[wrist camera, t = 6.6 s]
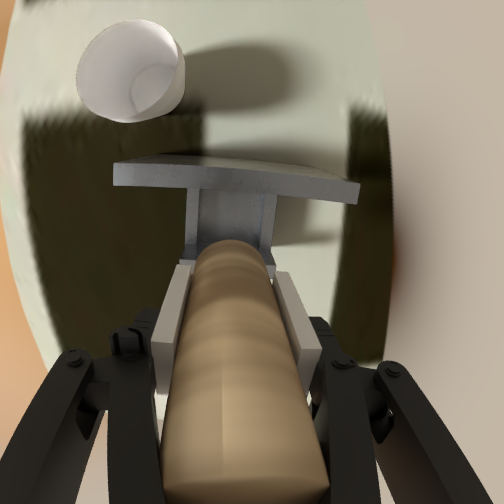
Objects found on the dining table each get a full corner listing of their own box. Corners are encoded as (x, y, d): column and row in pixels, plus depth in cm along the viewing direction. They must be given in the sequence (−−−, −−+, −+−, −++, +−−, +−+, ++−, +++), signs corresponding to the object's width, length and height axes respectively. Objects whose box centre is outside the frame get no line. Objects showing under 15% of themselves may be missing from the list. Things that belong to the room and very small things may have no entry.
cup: (211, 91, 30) (204, 66, 19) (150, 142, 32) (114, 144, 21) (164, 40, 27) (138, -1, 16) (106, 90, 29) (57, 73, 18)
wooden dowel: (195, 237, 17) (137, 467, 4) (270, 242, 18) (359, 463, 5) (193, 303, 19) (164, 525, 6) (261, 307, 19) (308, 524, 6)
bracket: (156, 154, 32) (113, 163, 19) (311, 166, 34) (360, 183, 21) (153, 239, 36) (118, 294, 23) (299, 249, 38) (334, 307, 25)
